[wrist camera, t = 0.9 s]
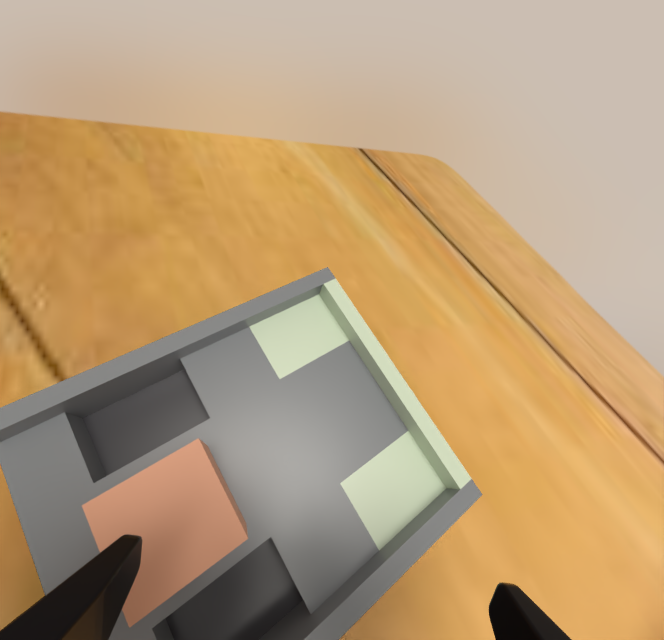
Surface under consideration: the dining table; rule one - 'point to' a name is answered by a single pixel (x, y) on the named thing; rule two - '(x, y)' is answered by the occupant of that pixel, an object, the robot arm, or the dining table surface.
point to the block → (169, 523)
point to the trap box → (249, 464)
